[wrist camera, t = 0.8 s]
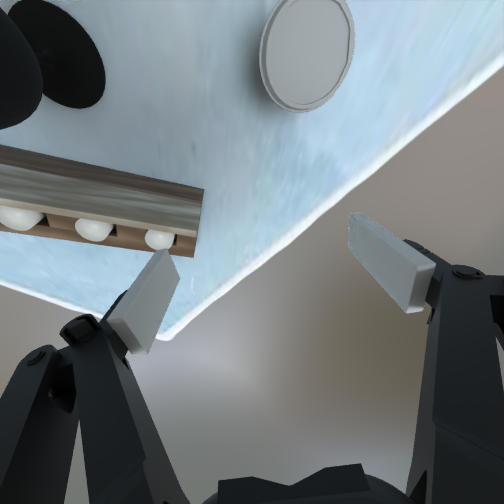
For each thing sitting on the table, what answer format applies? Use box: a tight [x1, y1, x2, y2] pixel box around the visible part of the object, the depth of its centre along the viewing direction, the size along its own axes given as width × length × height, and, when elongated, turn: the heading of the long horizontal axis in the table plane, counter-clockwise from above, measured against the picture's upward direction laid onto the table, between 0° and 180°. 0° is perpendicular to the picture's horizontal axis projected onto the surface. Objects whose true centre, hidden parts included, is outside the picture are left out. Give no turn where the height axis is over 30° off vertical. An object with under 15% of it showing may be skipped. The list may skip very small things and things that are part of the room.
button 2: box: [145, 230, 175, 250], centre depth 38 cm, size 4×4×4 cm
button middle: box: [75, 218, 116, 241], centre depth 35 cm, size 4×4×4 cm
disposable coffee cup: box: [259, 0, 355, 113], centre depth 25 cm, size 10×10×12 cm
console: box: [0, 145, 204, 258], centre depth 34 cm, size 12×32×14 cm, turn 74°
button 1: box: [0, 205, 46, 231], centre depth 33 cm, size 4×4×4 cm
